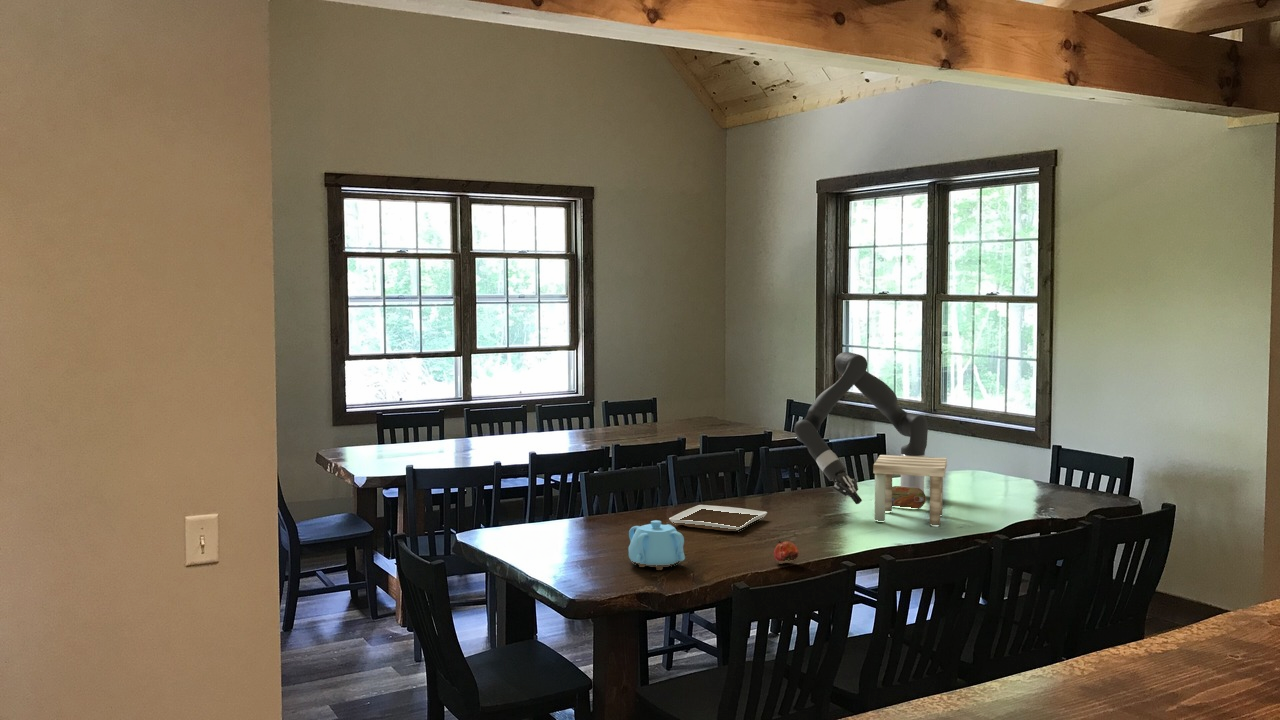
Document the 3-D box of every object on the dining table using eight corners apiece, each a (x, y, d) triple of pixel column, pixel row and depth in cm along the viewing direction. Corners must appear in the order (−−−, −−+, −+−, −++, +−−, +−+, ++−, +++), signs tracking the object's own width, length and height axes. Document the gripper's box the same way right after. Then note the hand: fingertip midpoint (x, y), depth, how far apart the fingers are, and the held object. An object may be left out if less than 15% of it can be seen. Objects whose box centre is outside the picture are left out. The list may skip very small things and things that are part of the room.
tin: (884, 507, 393) (884, 485, 392) (886, 505, 396) (886, 484, 395) (924, 511, 386) (924, 488, 385) (926, 509, 389) (926, 487, 388)
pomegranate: (802, 572, 309) (791, 546, 316) (805, 557, 304) (794, 531, 311) (778, 576, 308) (768, 550, 315) (781, 561, 303) (771, 535, 310)
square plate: (667, 528, 360) (667, 517, 360) (699, 513, 384) (699, 503, 384) (739, 536, 347) (739, 525, 347) (768, 520, 372) (768, 510, 371)
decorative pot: (630, 573, 301) (630, 527, 300) (627, 559, 317) (627, 515, 316) (685, 572, 302) (686, 526, 301) (679, 558, 318) (679, 514, 317)
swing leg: (880, 514, 378) (881, 468, 377) (890, 515, 376) (891, 469, 375) (873, 522, 366) (874, 474, 365) (883, 522, 364) (884, 474, 363)
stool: (879, 510, 387) (880, 454, 386) (945, 514, 380) (946, 457, 378) (872, 523, 364) (873, 464, 363) (943, 528, 357) (944, 468, 355)
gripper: (826, 461, 372) (856, 499, 364) (846, 456, 381) (875, 493, 374) (814, 473, 376) (843, 511, 368) (834, 469, 385) (862, 506, 378)
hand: (859, 502), depth 371 cm, fingers closed
